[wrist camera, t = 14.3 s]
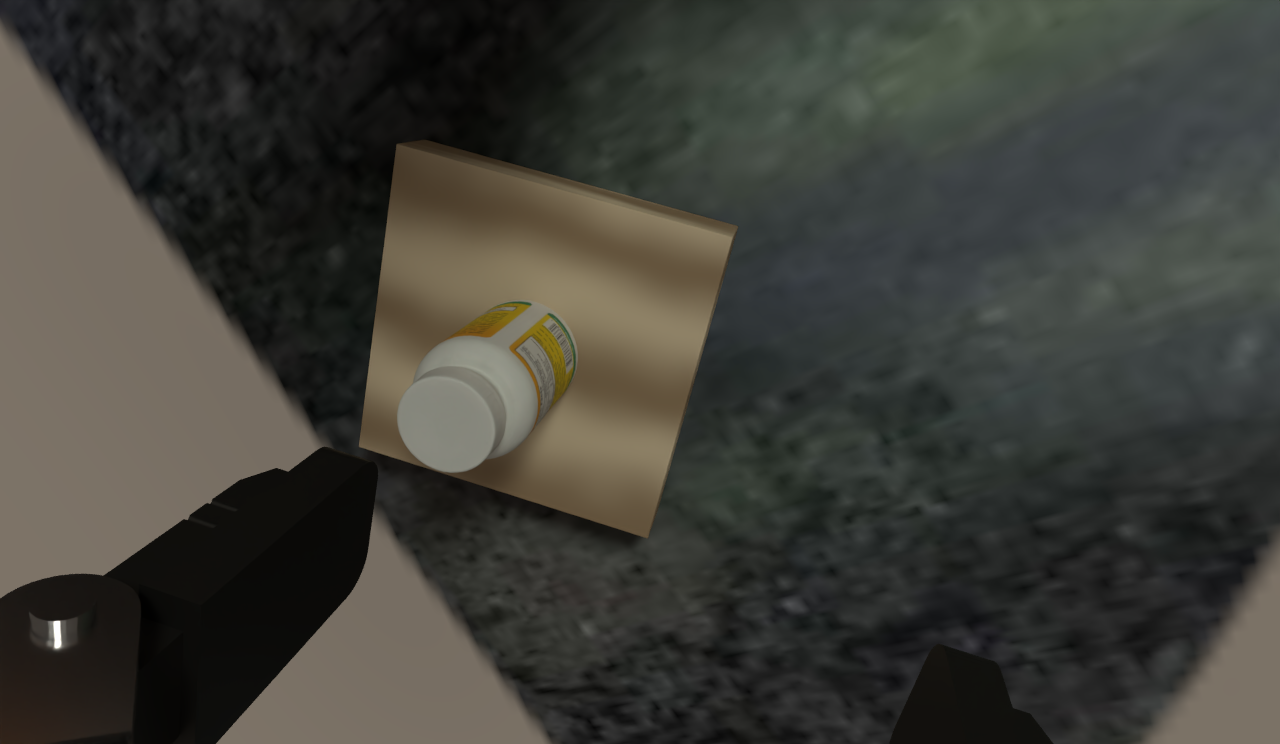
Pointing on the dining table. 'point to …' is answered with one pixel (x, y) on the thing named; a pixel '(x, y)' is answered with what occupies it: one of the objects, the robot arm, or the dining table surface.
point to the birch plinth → (578, 292)
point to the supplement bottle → (487, 386)
